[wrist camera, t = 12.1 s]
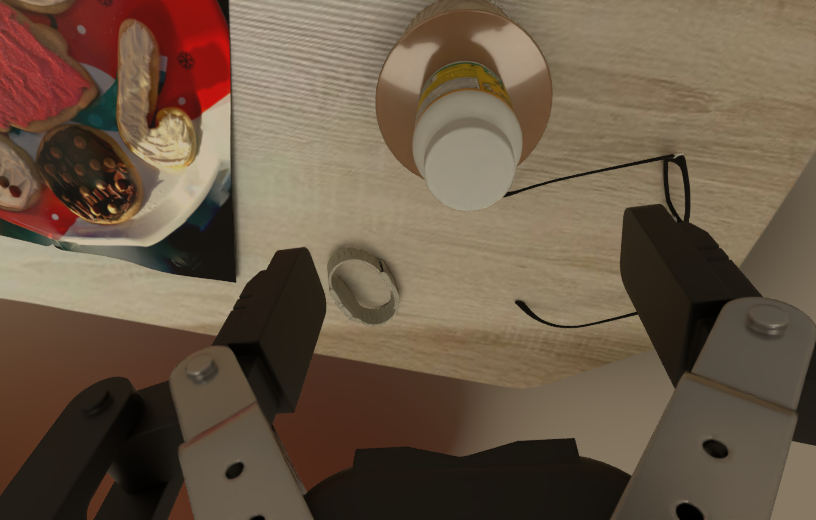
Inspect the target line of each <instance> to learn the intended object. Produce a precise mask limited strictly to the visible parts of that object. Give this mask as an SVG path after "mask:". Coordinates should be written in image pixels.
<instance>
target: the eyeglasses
mask: <svg viewBox="0 0 816 520" xmlns="http://www.w3.org/2000/svg"><path fill="white" fill-rule="evenodd" d="M663 159H665V160H664V186H665V194H666V200H667V204H668V206H669V209H670V211H671V213H672V214H673V215H671V216H672V218H673V219H674V218H675V221H676V222H677V223H679V222H687V221H688V222H689V217H690V184H689V177H688V171H687V165H686V160H685V157H684V154H683V153H679V154H675V153H674V154H670V155H666V156H661V157H656V158H652V159H647V160H642V161H638V162H633V163H628V164H624V165H619V166H614V167H609V168H605V169H600V170H595V171H591V172H586V173H581V174H577V175H572V176H568V177H563V178H559V179H555V180H551V181H547V182H544V183H540V184H536V185H533V186H530V187H526V188H523V189H520V190H517V191H512V192H507V193H506V194H505V195H504V196H503V197H507V196H511V195H514V194H517V193H519V192H522V191H525V190H528V189H532V188H535V187H538V186H542V185H545V184H549V183H552V182H557V181H561V180H565V179H570V178H574V177H579V176H583V175H588V174H593V173H598V172H603V171H608V170H613V169H618V168H623V167H628V166H633V165H638V164H643V163H648V162H653V161H658V160H663ZM668 162H674V163H676V164H677V165H678V166H679V167H680V169H681V171H682V176H683V181H684V189H685V216H684V221H682V220H681V219H680V217H679V216H678V214H677V213H676V211H675V209H674V207H673V205H672V202H671V200H670V194H669V186H668ZM503 197H502V198H503ZM515 303H516V304H517V305H518V306H519V307H520V308H521V309H522V310H523V311H524V312H525V313H526V314H528V315H529V316H530V317H532V318H533V319H535V320H537V321H539V322H541V323H544V324H547V325H550V326H553V327H559V328H579V327H585V326H590V325H595V324H600V323H604V322H609V321H613V320H617V319H621V318H626V317H630V316H634V315H638V313H637V312H634V313H630V314H627V315H623V316H619V317H615V318H611V319H607V320H603V321H599V322H595V323H590V324H585V325H579V326H561V325H555V324H552V323H549V322H546V321H544V320H542V319H541V318H539V317H538V316H536V315H535V314H534V313H533V312H532V311H531V310H530V309H529V308H528V307H527V305H526V304H525V303H524V302H521V301H516V302H515Z"/></svg>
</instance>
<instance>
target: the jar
mask: <svg viewBox="0 0 816 520" xmlns="http://www.w3.org/2000/svg"><path fill="white" fill-rule="evenodd" d="M458 61H473V62H477V63H480V64H482V65H484V66H486V67H487V68H489V69H490V70H491V71H493V72H494V73H495V74H496V75H497V76H498V77H499V78H500V79H501V81H502V82H503V84H504V86H505V88H506V90H507V93H508V96H509V98H510V101H511V103H512V106H513V109H514V111H515V114H516V116H517V119H518V121H519V124H520V128H521V131H522V141H523V143H522V152H521V157H520V160H519V163H518V165H520V164H521V163H522V162H523V161H524V160H525V159H526V158H527V157H528V156H529V155H530V153H531V152H532V151H533V150H534V148H535V147H536V145H537V144H538V142H539V141H540V139H541V137H542V135H543V133H544V131H545V129H546V126H547V123H548V120H549V117H550V112H551V106H552V81H551V76H550V72H549V68H548V65H547V62H546V60H545V57H544V55H543V54H542V52H541V50H540V48H539V46H538V45H537V44H536V42H535V41H534V40H533V39H532V37H531V36H530V35H529V34H528V33H527V32H526V31H525V30H524V29H523V28H522V27H521V26H520V25H519V24H517V23H516V22H515V21H513V20H512V19H510V18H509V17H508V16H507V15H506V14H505V13H504V12H503V11H502V10H501V9H500V8H498V7H497V6H496V5H494V4H493V3H491V2H489V1H487V0H438V1H436V2H434V3H432V4H431V5H429V6H427V7H426V8H424V9H423V10H422V11H421V12H420V13H418V14H417V16H416V17H415V18H414V19H413V20H412V21H411V23H410V24H409V25H408V27H407V28H406V30H405V32H404V34H403V35H402V36H401V37H400V38H399V40H398V41H397V42H396V44H395V45H394V46H393V48H392V49H391V51H390V53H389V55H388V57H387V58H386V60H385V62H384V65H383V67H382V70H381V72H380V75H379V79H378V83H377V89H376V114H377V121H378V124H379V128H380V131H381V134H382V136H383V138H384V141H385V143H386V144H387V146H388V148H389V149H390V151H391V152H392V153H393V155H394V156H395V157H396V159H397V160H398V161H399V162H400V163H401V164H402V165H403V166H404V167H406V168H407V169H408V170H410V171H411V172H412V173H414V174H416V175H417V176H419V177H421V178H423V177H422V175H421V174H420V172H419V170H418V168H417V166H416V164H415V161H414V156H413V149H412V142H413V133H414V127H415V120H416V114H417V107H418V102H419V98H420V94H421V91H422V89H423V87H424V85H425V83H426V82H427V80H428V79H429V78H430V77H431V76H432V75H433V74H434V73H435V72H436V71H437V70H439V69H440V68H442V67H443V66H445V65H448V64H450V63H453V62H458ZM518 165H517V166H518ZM423 179H424V178H423Z"/></svg>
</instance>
